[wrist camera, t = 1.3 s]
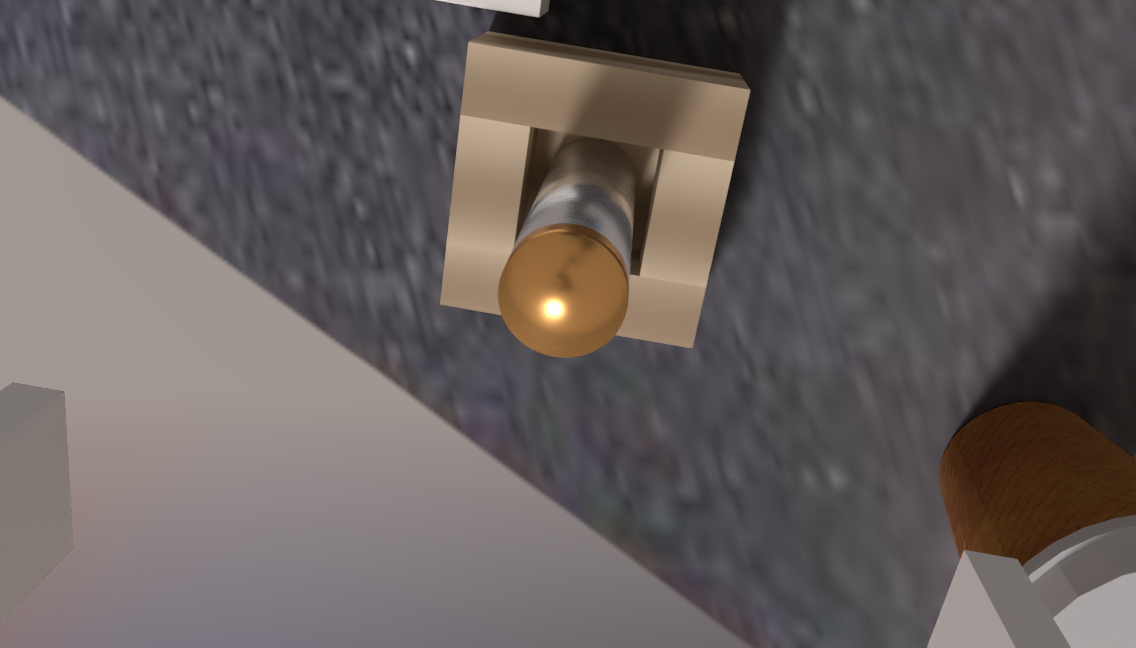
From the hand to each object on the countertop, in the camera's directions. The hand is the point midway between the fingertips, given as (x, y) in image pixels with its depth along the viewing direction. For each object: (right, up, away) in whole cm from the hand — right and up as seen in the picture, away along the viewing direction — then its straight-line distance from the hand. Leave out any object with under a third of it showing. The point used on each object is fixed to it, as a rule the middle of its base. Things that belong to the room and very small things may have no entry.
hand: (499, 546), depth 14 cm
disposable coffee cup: (+19, -3, +24) cm, 31 cm away
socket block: (+2, +9, +21) cm, 23 cm away
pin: (+2, +8, +20) cm, 22 cm away
